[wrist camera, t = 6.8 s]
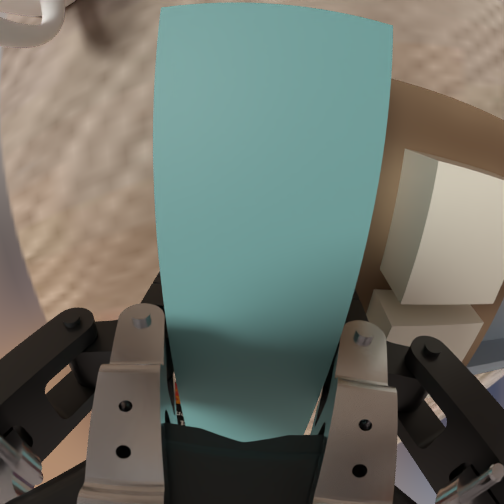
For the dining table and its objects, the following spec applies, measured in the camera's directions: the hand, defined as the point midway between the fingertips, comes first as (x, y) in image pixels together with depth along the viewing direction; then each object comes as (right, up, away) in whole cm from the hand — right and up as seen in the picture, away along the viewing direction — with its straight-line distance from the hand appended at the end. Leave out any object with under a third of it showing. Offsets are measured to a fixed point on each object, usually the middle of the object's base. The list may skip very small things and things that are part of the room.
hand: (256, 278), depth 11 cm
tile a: (+8, +2, -1) cm, 8 cm away
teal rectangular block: (0, 0, 0) cm, 0 cm away
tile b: (+7, -3, +2) cm, 8 cm away
